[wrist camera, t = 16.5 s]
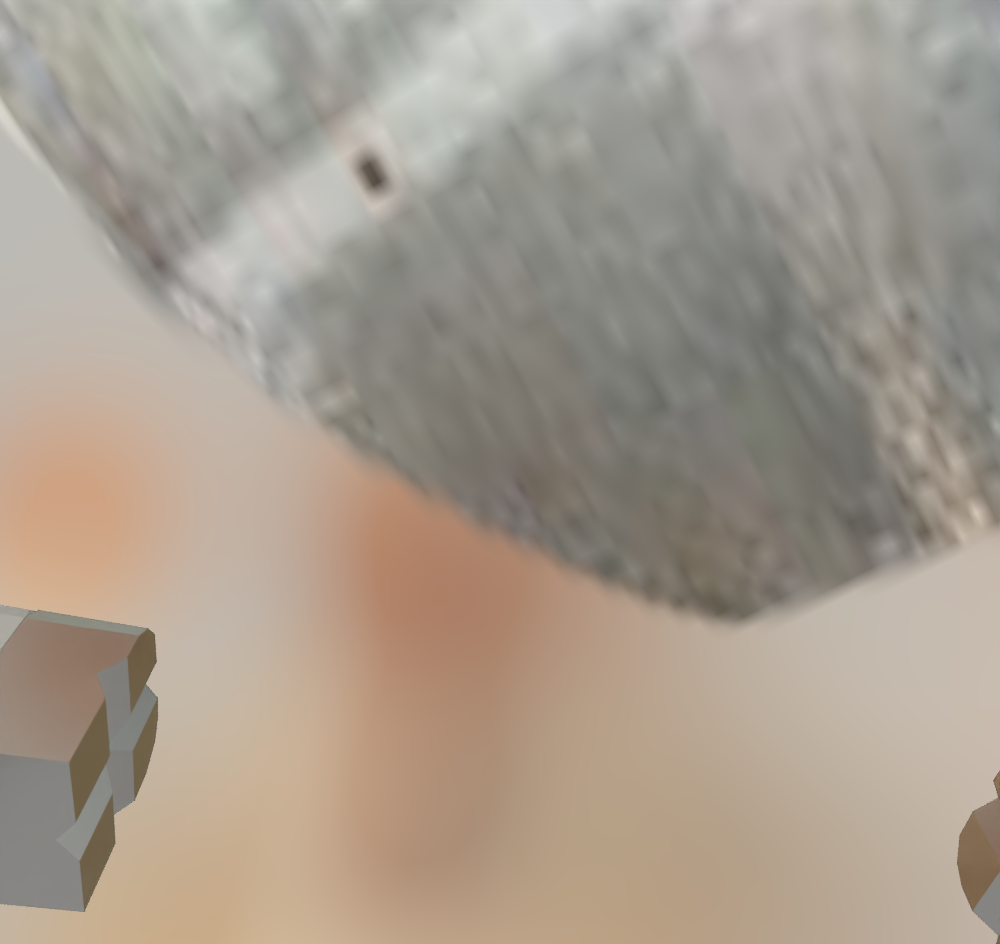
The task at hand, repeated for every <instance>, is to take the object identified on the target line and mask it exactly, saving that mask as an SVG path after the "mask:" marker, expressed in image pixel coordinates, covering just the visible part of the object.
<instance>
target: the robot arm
mask: <svg viewBox="0 0 1000 944" xmlns="http://www.w3.org/2000/svg"><path fill="white" fill-rule="evenodd" d="M156 662H157V660H156V644H155V634H154V633H153V632H152V631H150V630H149V629H148V628H143V627H137V626H131V625H125V624H119V623H112V622H106V621H101V620H95V619H89V618H83V617H77V616H71V615H65V614H59V613H53V612H47V611H41V610H38V611H32V610H26V609H21V608H15V607H9V606H4V605H0V904H7V905H17V906H28V907H38V908H49V909H60V910H70V911H80V912H84V911H85V909H86V907H87V905H88V903H89V900H90V898H91V896H92V894H93V891H94V889H95V887H96V885H97V883H98V881H99V878H100V876H101V874H102V872H103V870H104V867H105V865H106V863H107V861H108V859H109V856H110V854H111V852H112V850H113V847H114V845H115V826H114V814H116V813H117V812H119V811H120V810H122V809H123V808H124V807H126V806H127V805H129V804H130V803H132V802H133V801H135V798H136V796H137V794H138V791H139V789H140V787H141V784H142V782H143V780H144V777H145V775H146V772H147V769H148V765H149V762H150V758H151V754H152V751H153V747H154V743H155V738H156V729H157V721H158V698H157V696H156V695H155V694H154V693H153V692H152V690H150V688H149V687H148V686H147V685H146V682H147V680H148V678H149V676H150V674H151V672H152V670H153V668H154V666H155V664H156ZM993 781H994V785H995V788H996V791H997V795H998V798H997V799H995V800H993V801H991V802H990V803H987V804H986V805H984V806H982V807H980V808H978V809H976V810H975V811H973V812H972V814H971V816H970V818H969V820H968V821H967V823H966V825H965V827H964V828H963V830H962V832H961V834H960V837H959V848H958V859H957V865H958V870H959V875H960V880H961V885H962V888H963V890H964V893H965V895H966V897H967V900H968V902H969V904H970V907H971V909H972V911H973V912H974V913H975V914H976V915H977V916H978V917H979V918H980V919H981V920H982V921H983V922H985V923H986V924H987V925H988V926H989V927H990V928H991V929H992V930H993V931H994V932H995V933H996V934H997V935H998V939H997V943H996V944H1000V771H999V772H998V774H997V775H996V777H995V779H994V780H993Z"/></svg>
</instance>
